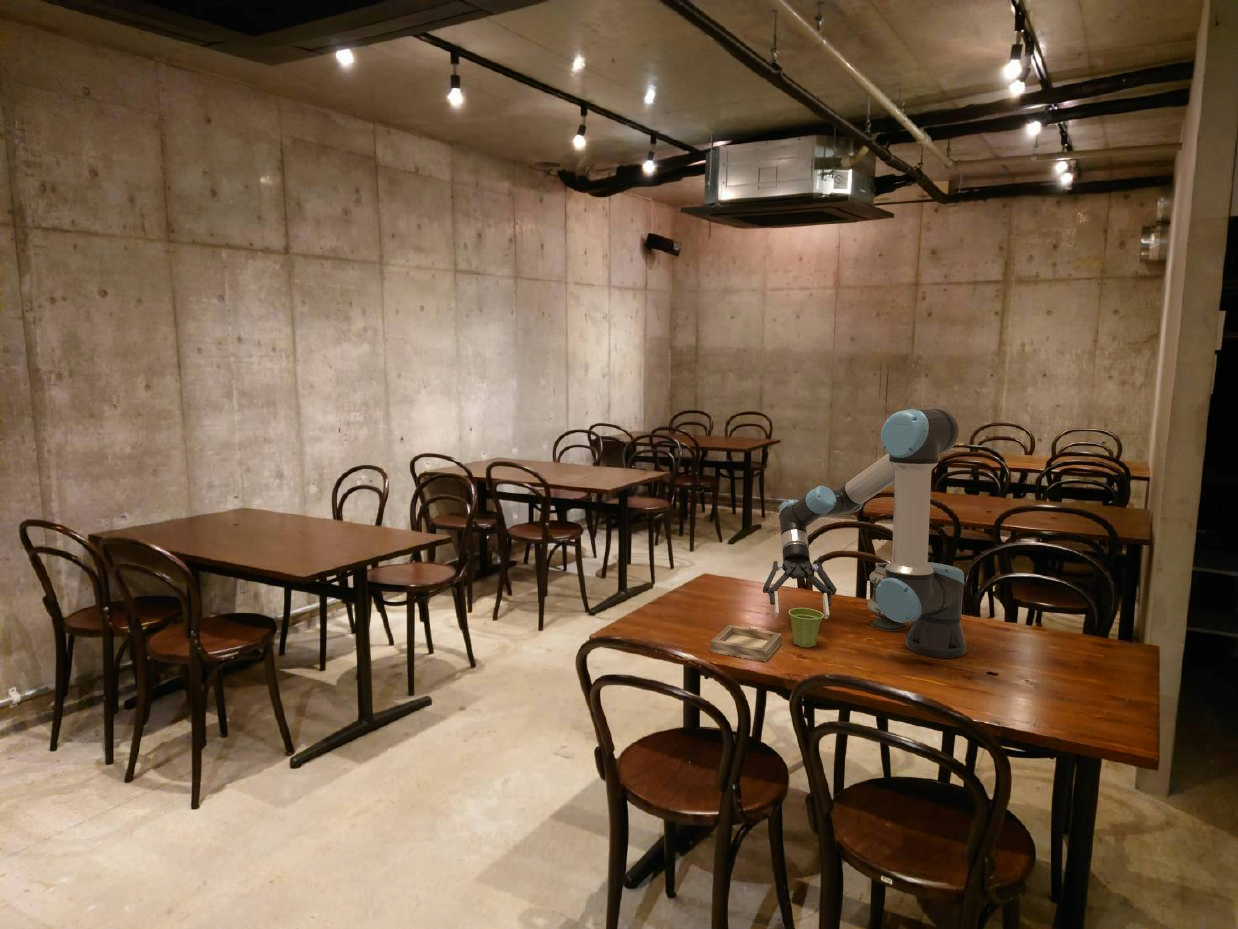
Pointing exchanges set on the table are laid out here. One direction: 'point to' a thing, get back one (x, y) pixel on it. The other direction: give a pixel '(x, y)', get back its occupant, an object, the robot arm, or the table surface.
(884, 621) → the apothecary jar
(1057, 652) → the table surface
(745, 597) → the table surface
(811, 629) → the plant pot
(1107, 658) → the table surface
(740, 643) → the wooden tray
